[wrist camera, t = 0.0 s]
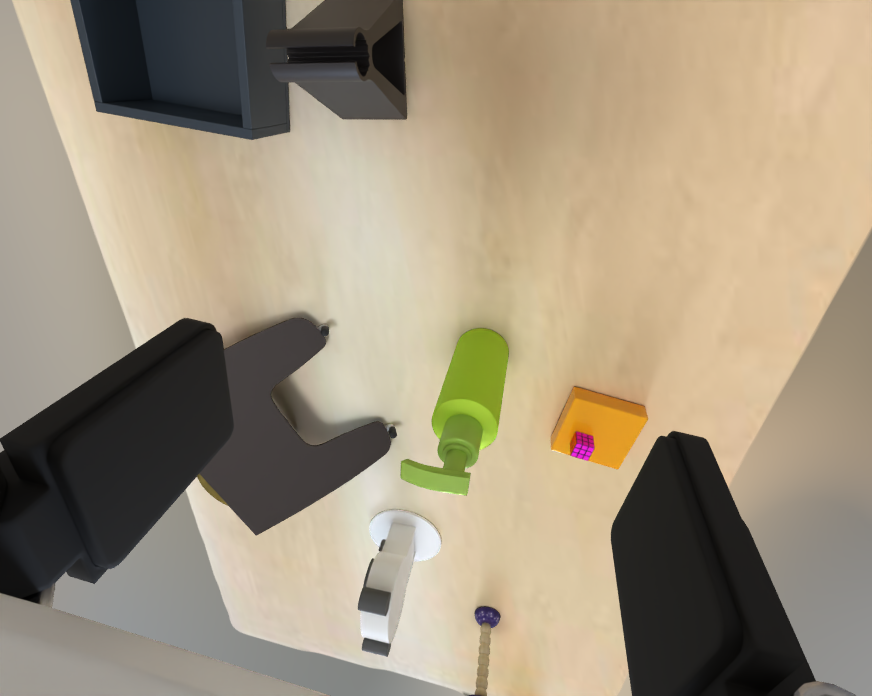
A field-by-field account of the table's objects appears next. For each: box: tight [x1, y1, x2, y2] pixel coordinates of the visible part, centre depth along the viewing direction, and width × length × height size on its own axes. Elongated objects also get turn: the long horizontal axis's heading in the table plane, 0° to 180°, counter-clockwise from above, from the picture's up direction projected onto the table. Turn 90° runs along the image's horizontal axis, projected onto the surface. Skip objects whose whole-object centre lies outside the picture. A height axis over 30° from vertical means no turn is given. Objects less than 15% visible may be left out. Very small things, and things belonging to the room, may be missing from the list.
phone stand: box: [266, 0, 407, 119], centre depth 34 cm, size 9×6×12 cm, turn 0°
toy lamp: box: [469, 607, 500, 696], centre depth 70 cm, size 5×5×17 cm
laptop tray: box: [199, 318, 397, 535], centre depth 58 cm, size 23×23×9 cm
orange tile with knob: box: [551, 387, 648, 469], centre depth 51 cm, size 8×8×4 cm
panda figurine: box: [358, 510, 441, 657], centre depth 64 cm, size 12×11×15 cm
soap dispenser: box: [401, 328, 509, 496], centre depth 43 cm, size 6×7×20 cm
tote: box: [70, 0, 290, 140], centre depth 38 cm, size 13×15×7 cm
